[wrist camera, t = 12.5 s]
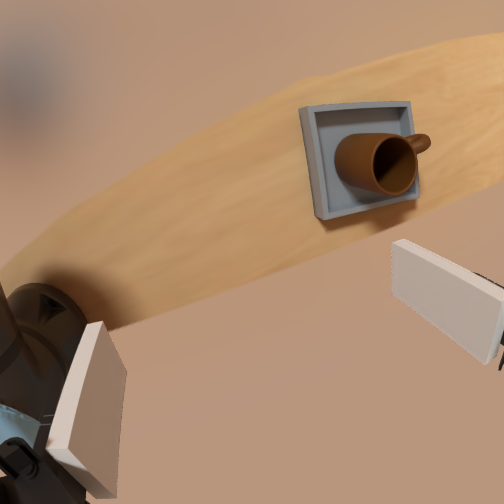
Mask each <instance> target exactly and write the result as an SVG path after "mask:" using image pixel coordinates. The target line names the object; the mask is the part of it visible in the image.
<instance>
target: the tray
mask: <svg viewBox="0 0 504 504" xmlns="http://www.w3.org/2000/svg"><path fill="white" fill-rule="evenodd" d="M298 110H299V116H300V121H301V127H302V133H303V139H304V145H305V151H306V157H307V164H308V170H309V177H310V184H311V191H312V198H313V206H314V213H315V216H317V217H319V218H320V219H322V220H328V219H332V218H336V217H340V216H344V215H349V214H353V213H357V212H361V211H365V210H370V209H374V208H378V207H382V206H387V205H391V204H395V203H399V202H404V201H408V200H412V199H417V198H420V192H419V175H418V170H417V175H416V179H415V181H414V183H413V185H412V186H411V187H410V188H409V190H407V191H406V192H405V193H403V194H401V195H398V196H389V195H382V194H378V193H375V192H371V191H367V190H364V189H361V188H357V187H353V186H351V185H349V184H347V183H345V182H344V181H343V180H342V179H341V178H340V177H339V175H338V173H337V171H336V169H335V164H334V155H335V151H336V148H337V146H338V144H339V143H340V142H341V140H342V139H344V138H345V137H347V136H349V135H351V134H357V133H390V134H397V135H400V136H402V137H407V136H410V135H414V134H415V132H414V124H413V117H412V110H411V103H410V101H389V102H360V103H342V104H329V105H317V106H307V107H304V108H300V109H298Z"/></svg>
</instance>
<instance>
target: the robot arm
mask: <svg viewBox="0 0 504 504" xmlns="http://www.w3.org/2000/svg"><path fill="white" fill-rule="evenodd" d="M392 295H394V296H395V297H397V298H398V299H399V300H401V301H402V302H403V303H405V304H406V305H407V306H409V307H410V308H411V309H413V310H414V311H415V312H417V313H418V314H419V315H421V316H422V317H424V318H425V319H426V320H427V321H429V322H430V323H431V324H433V325H434V326H435V327H437V328H438V329H439V330H441V331H442V332H443V333H444V334H446V335H447V336H448V337H450V338H451V339H452V340H453V341H455V342H456V343H457V344H459V345H460V346H461V347H462V348H464V349H465V350H466V351H468V352H469V353H470V354H471V355H473V356H474V357H475V358H476V359H478V360H479V361H480V362H481V363H483V364H484V365H486V364H487V363H488V362H490V361H491V360H492V359H494V358H495V357H496V356H497V353H498V349H499V346H500V343H501V344H502V345H503V346H504V287H502V286H500V285H499V284H497V283H494V282H493V281H491V280H489V279H488V280H487V278H486V277H484V276H482V275H480V274H478V273H474V272H471V271H469V270H467V269H465V268H463V267H461V266H459V265H457V264H455V263H453V262H451V261H449V260H447V259H445V258H443V257H441V256H439V255H437V254H435V253H433V252H430V251H429V250H427V249H424V248H422V247H420V246H418V245H416V244H414V243H411V242H410V241H408V240H405V239H402V240H398V241H395V242H392ZM503 364H504V353H503V356H502V359H501V361H500V364H499V370H501V369H502V366H503ZM126 375H127V371H126V369H125V367H124V365H123V363H122V361H121V359H120V357H119V355H118V353H117V351H116V349H115V346H114V344H113V342H112V340H111V338H110V336H109V333H108V331H107V329H106V327H105V325H104V322H103V321H99V322H95V323H91V324H88V323H87V320H86V318H85V316H84V314H83V313H82V311H81V310H80V308H79V307H78V306H77V305H76V303H75V302H74V301H73V300H72V299H71V298H69V297H68V296H67V295H66V294H64V293H63V292H61V291H60V290H58V289H56V288H54V287H52V286H49V285H45V284H40V283H30V284H25V285H22V286H20V287H19V288H17V289H16V290H15V291H13V293H12V294H11V295H10V296H9V297H8V298H7V299H6V297H5V294H4V291H3V289H2V286H1V283H0V469H1V470H2V471H3V472H4V473H5V474H6V475H7V476H4V477H0V504H90V503H89V502H87V501H86V500H85V499H86V490H87V491H88V492H89V493H90V494H91V495H92V496H93V497H95V498H96V499H107V498H117V476H118V474H117V473H118V456H119V442H120V428H121V418H122V408H123V399H124V390H125V381H126Z"/></svg>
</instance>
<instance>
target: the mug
mask: <svg viewBox="0 0 504 504" xmlns="http://www.w3.org/2000/svg"><path fill="white" fill-rule="evenodd" d="M430 145H431V140H430V138H429V137H428V136H427V135H425V134H414V135H410V136H407V137H402V136H400V135H397V134H390V133H357V134H351V135H349V136H347V137H345V138H344V139H342V140H341V142H340V143H339V144H338V146H337V148H336V151H335V155H334V164H335V169H336V171H337V173H338V175H339V177H340V178H341V179H342V180H343V181H344V182H345V183H347V184H349V185H351V186H353V187H357V188H361V189H364V190H367V191H371V192H375V193H378V194H382V195H389V196H398V195H401V194H403V193H405V192H406V191H407V190H409V188H410V187H411V186H412V185H413V183H414V181H415V179H416V175H417V170H418V161H417V154H419V153H421V152H424V151H425V150H427V149H428V148H429V146H430Z"/></svg>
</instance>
